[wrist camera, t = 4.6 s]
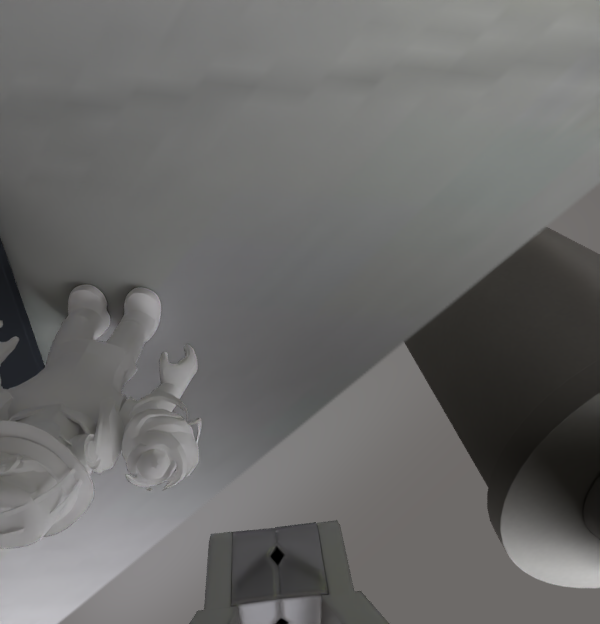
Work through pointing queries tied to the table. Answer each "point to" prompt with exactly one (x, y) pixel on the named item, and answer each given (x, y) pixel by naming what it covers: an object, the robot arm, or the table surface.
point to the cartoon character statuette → (89, 418)
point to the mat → (16, 331)
